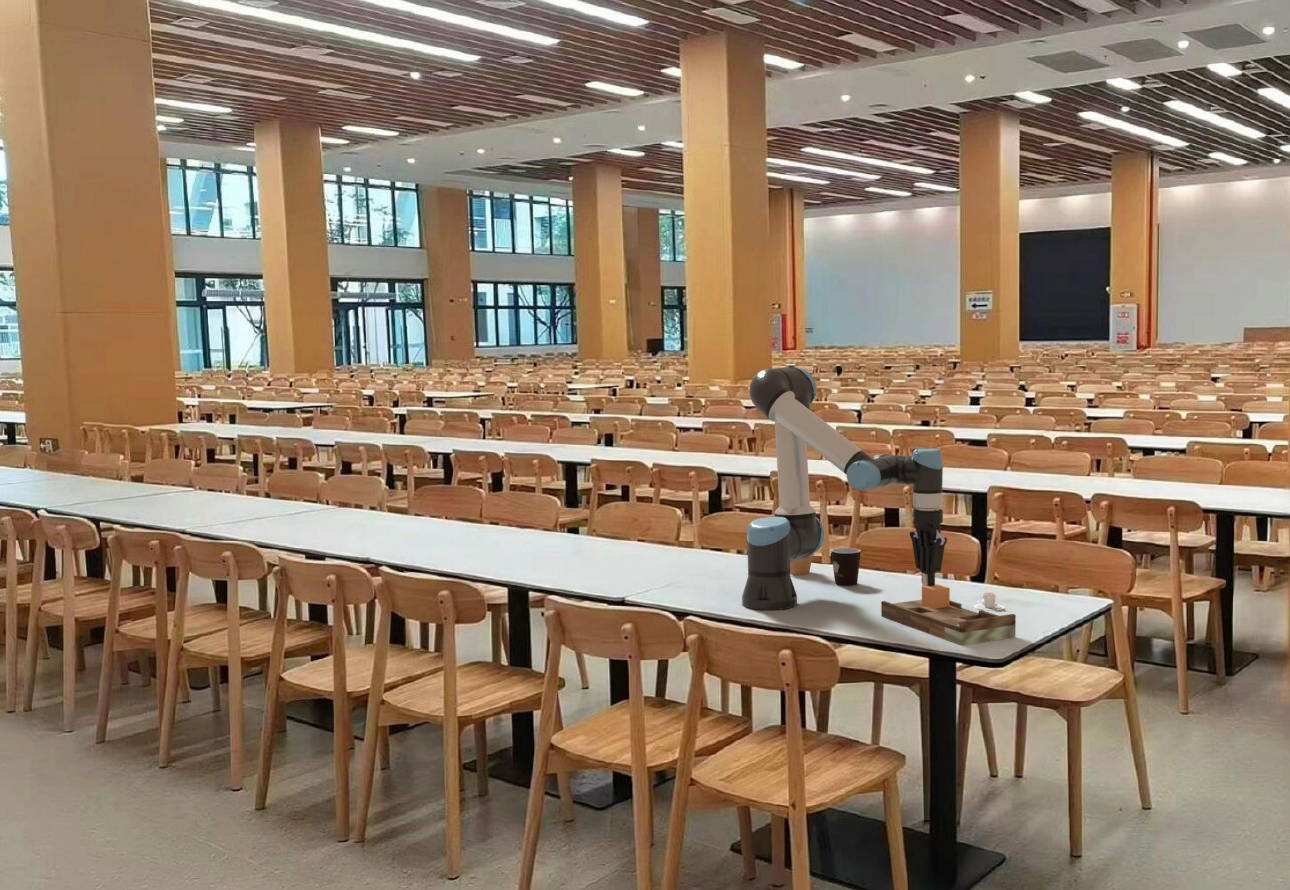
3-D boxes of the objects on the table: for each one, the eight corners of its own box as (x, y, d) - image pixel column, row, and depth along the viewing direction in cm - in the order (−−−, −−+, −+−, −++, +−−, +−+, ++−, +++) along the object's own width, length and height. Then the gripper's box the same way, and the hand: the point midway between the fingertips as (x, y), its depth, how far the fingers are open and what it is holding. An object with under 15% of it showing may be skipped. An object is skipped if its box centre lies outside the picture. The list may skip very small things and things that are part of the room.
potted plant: (777, 572, 378) (776, 493, 376) (802, 568, 382) (801, 490, 380) (796, 577, 369) (795, 497, 367) (821, 573, 374) (821, 494, 371)
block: (933, 608, 312) (933, 589, 312) (921, 604, 317) (921, 586, 316) (949, 606, 314) (949, 587, 314) (937, 602, 319) (937, 584, 318)
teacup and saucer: (982, 603, 332) (982, 588, 332) (1010, 607, 327) (1010, 592, 327) (968, 609, 325) (968, 594, 325) (997, 613, 320) (997, 598, 320)
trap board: (961, 645, 288) (961, 622, 288) (881, 616, 318) (881, 595, 318) (1015, 636, 294) (1015, 614, 294) (931, 609, 325) (931, 589, 324)
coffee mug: (863, 586, 354) (862, 552, 353) (833, 587, 354) (833, 553, 353) (857, 578, 366) (856, 545, 365) (828, 579, 366) (828, 546, 365)
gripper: (955, 510, 312) (955, 600, 314) (924, 503, 324) (924, 591, 326) (931, 512, 309) (931, 603, 311) (901, 506, 321) (901, 594, 323)
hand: (928, 597), depth 318 cm, fingers closed
